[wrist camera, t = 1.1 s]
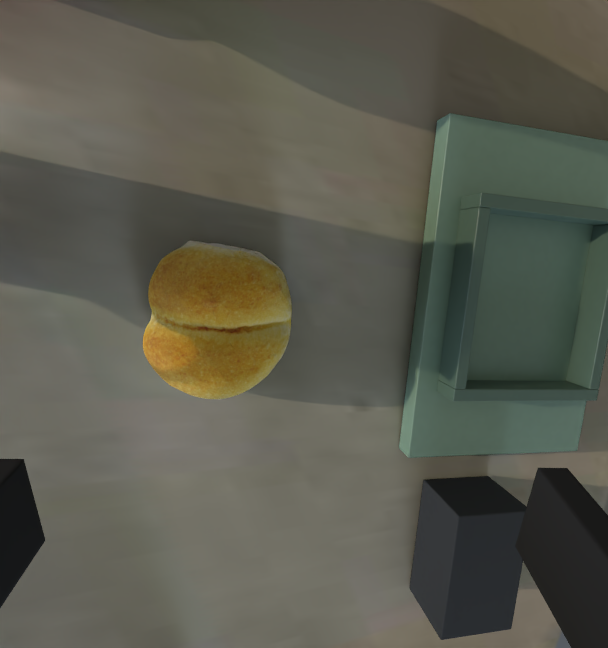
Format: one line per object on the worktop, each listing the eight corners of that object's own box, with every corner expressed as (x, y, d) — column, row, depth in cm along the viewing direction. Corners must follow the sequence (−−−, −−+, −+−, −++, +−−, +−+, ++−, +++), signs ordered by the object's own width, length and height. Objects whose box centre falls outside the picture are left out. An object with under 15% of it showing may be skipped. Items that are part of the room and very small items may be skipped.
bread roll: (141, 384, 25) (129, 408, 21) (157, 233, 24) (148, 230, 20) (276, 395, 27) (288, 419, 23) (297, 256, 26) (313, 257, 22)
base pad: (561, 442, 33) (601, 464, 30) (398, 448, 30) (423, 472, 27) (613, 150, 30) (665, 137, 27) (436, 120, 27) (470, 101, 23)
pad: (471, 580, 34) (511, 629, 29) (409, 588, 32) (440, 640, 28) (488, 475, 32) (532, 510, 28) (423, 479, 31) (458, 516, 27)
